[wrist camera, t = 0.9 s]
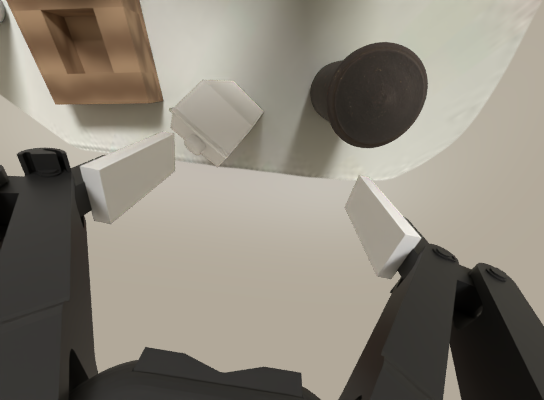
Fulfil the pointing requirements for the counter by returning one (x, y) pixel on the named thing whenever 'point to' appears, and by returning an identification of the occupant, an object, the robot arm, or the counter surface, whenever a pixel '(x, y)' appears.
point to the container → (371, 94)
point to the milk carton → (214, 119)
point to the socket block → (90, 50)
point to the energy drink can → (2, 11)
